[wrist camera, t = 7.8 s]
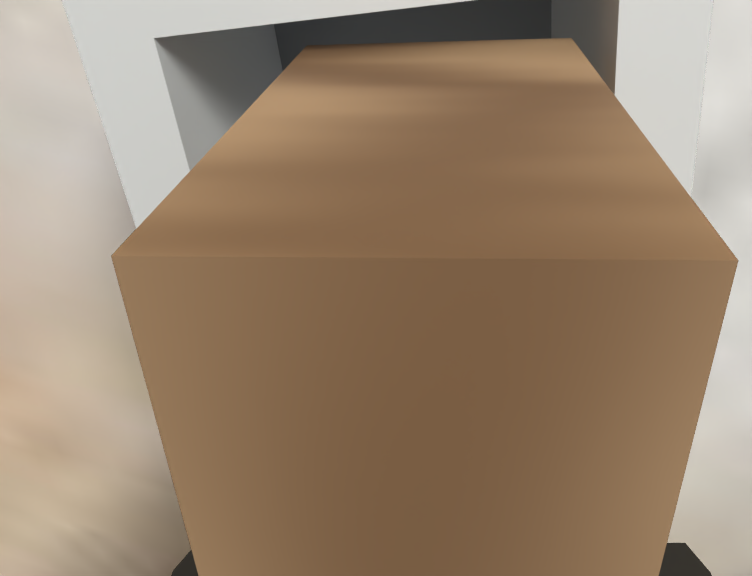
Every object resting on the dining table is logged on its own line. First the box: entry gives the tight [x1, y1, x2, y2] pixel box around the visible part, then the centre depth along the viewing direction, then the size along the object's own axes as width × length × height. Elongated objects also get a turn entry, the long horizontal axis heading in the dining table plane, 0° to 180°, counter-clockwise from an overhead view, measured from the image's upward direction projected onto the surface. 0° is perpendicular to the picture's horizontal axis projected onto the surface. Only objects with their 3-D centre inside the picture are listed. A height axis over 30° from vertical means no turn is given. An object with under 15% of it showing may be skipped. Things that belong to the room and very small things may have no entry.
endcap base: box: [62, 0, 714, 229], centre depth 17 cm, size 9×20×7 cm, turn 7°
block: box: [111, 38, 738, 576], centre depth 10 cm, size 4×12×7 cm, turn 3°
